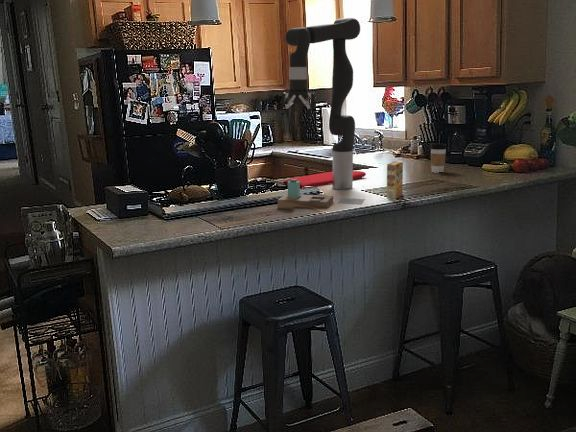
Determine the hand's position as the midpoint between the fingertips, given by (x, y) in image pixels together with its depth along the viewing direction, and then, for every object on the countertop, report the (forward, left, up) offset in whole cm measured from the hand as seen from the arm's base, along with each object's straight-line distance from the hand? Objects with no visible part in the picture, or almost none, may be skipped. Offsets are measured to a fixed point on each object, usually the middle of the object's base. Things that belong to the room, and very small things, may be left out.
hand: (298, 117), depth 267 cm
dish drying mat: (-40, +2, -35) cm, 53 cm away
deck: (+7, +24, -34) cm, 42 cm away
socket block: (+16, +7, -34) cm, 38 cm away
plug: (+16, +2, -34) cm, 38 cm away
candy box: (-7, +40, -34) cm, 53 cm away
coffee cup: (-77, +54, -34) cm, 100 cm away
